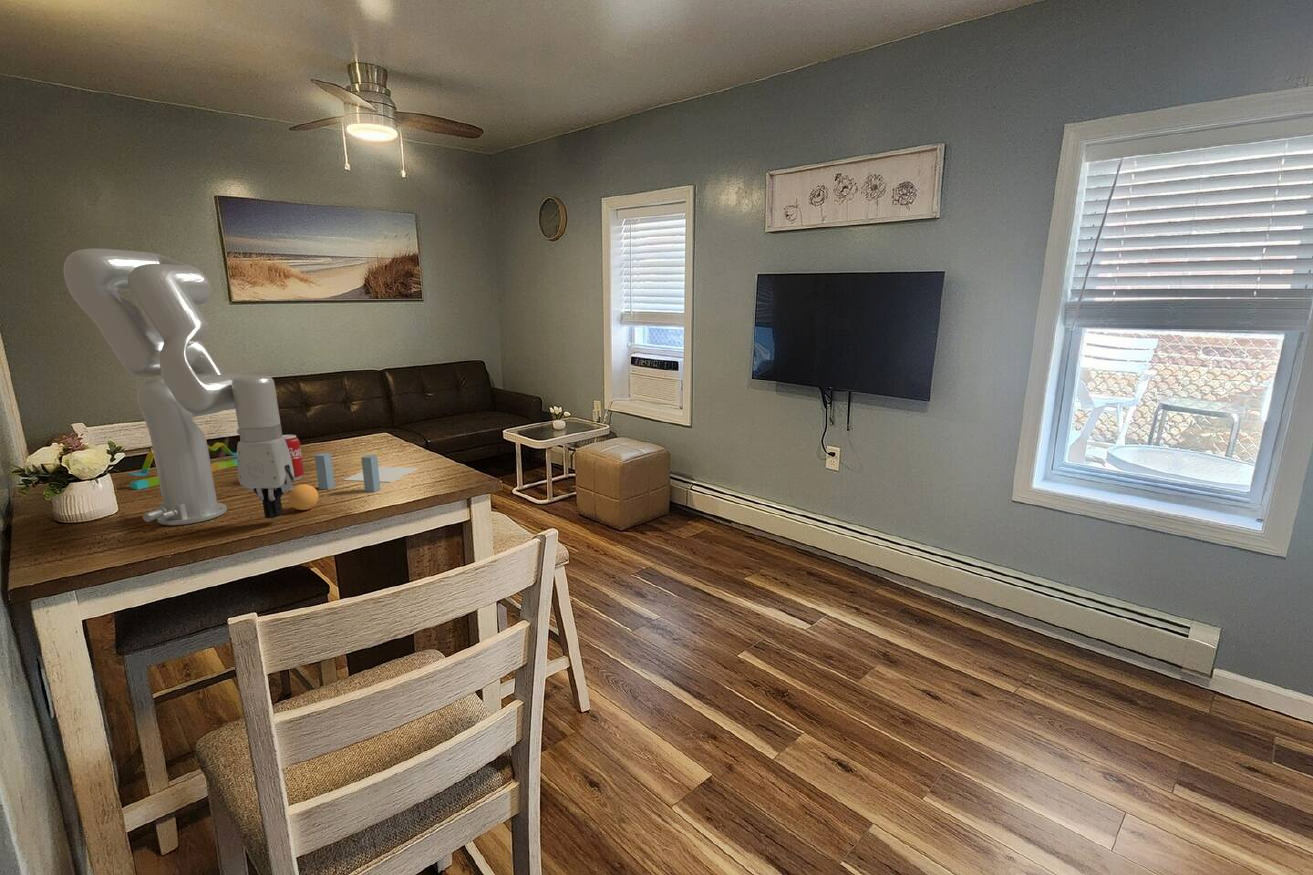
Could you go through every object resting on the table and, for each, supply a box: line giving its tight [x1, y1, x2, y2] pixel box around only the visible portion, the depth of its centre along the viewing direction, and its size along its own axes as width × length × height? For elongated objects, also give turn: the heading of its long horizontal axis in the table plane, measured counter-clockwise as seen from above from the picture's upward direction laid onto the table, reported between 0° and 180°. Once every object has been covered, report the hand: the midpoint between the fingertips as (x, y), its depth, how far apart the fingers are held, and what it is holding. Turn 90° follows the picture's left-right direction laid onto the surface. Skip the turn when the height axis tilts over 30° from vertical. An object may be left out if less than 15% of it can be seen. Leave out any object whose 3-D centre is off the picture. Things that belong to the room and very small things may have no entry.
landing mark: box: [343, 465, 419, 483], centre depth 171 cm, size 14×14×1 cm
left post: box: [314, 452, 336, 491], centre depth 158 cm, size 3×3×9 cm
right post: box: [360, 454, 381, 493], centre depth 155 cm, size 3×3×9 cm
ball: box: [288, 483, 319, 511], centre depth 141 cm, size 6×6×6 cm
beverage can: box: [282, 434, 305, 482], centre depth 165 cm, size 6×6×12 cm
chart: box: [128, 441, 237, 490], centre depth 171 cm, size 30×3×15 cm, turn 158°
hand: (274, 516), depth 133 cm, fingers closed
